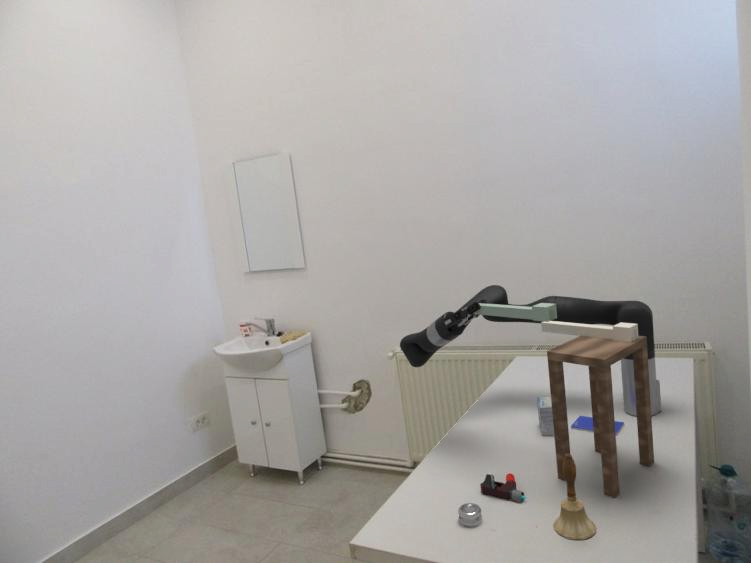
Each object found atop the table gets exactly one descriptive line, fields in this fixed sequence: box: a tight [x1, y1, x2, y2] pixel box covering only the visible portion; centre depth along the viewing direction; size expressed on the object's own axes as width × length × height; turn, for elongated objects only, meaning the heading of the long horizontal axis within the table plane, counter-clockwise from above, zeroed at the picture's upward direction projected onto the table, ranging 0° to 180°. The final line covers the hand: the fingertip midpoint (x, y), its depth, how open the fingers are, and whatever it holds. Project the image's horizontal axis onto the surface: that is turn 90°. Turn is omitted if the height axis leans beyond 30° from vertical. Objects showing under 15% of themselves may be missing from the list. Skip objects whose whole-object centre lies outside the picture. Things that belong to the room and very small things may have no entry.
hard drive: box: [570, 415, 625, 437], centre depth 153 cm, size 2×8×12 cm
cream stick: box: [540, 321, 638, 343], centre depth 133 cm, size 24×4×4 cm, turn 39°
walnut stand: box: [546, 336, 655, 499], centre depth 127 cm, size 14×20×32 cm
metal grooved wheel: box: [457, 502, 483, 528], centre depth 116 cm, size 5×3×5 cm
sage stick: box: [473, 303, 557, 322], centre depth 135 cm, size 24×4×4 cm, turn 39°
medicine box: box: [536, 396, 554, 436], centre depth 154 cm, size 8×4×9 cm, turn 168°
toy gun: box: [479, 472, 527, 503], centre depth 126 cm, size 10×12×5 cm
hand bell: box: [552, 453, 597, 541], centre depth 108 cm, size 8×8×16 cm
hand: (482, 303), depth 142 cm, fingers closed on sage stick, 2 cm apart
